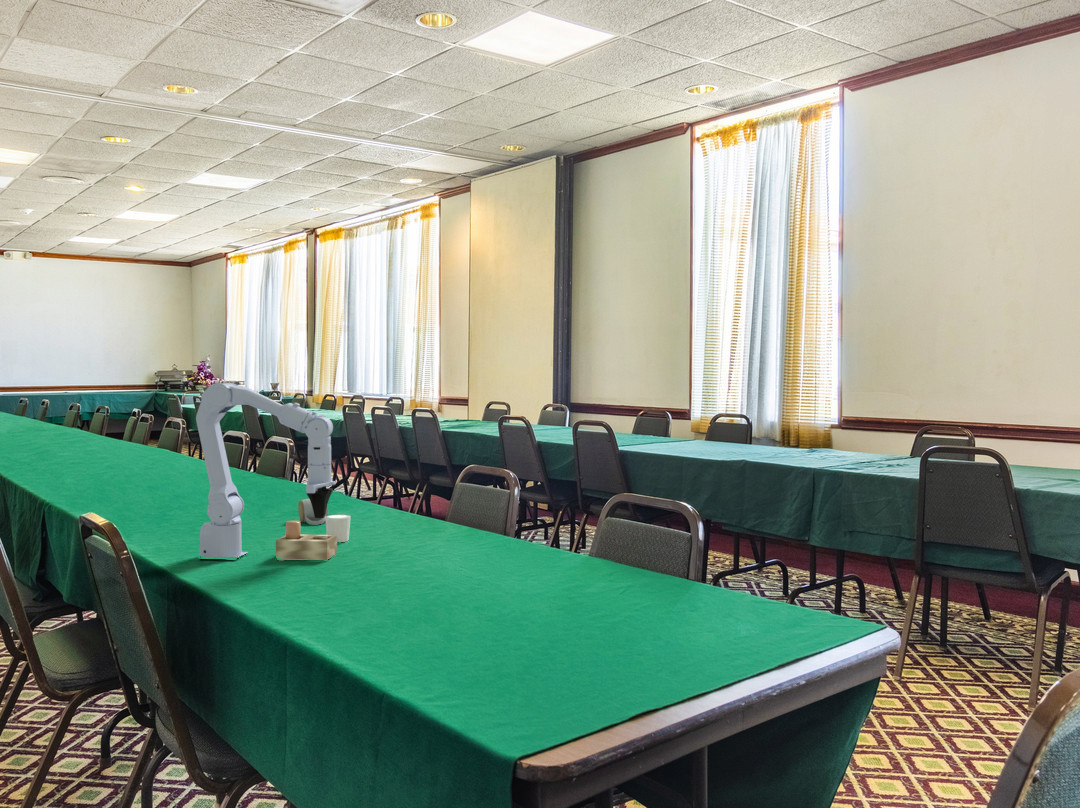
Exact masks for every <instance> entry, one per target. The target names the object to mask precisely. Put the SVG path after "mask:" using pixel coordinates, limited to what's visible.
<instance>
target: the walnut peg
mask: <svg viewBox="0 0 1080 808" xmlns="http://www.w3.org/2000/svg"><path fill="white" fill-rule="evenodd" d="M327 539H328V537H327V536H315V537H313V540H327Z"/></svg>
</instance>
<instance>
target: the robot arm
mask: <svg viewBox="0 0 1080 808" xmlns="http://www.w3.org/2000/svg"><path fill="white" fill-rule="evenodd" d="M245 405H248V406H249V407H252V408H255V409H258V410H260V411H262V412H265V413H268V414H270V415H273V416H275V417H277V419H278V422H279V424H281V425H283V426H285V427H287V428H290V429H293V430H295V431H296V432H299V433H301V434H305V435H306V437H307V438H308V439H307V441H308V442H307V443H308V444H307V481H306V485H305V489H306V490H305V493H306V496H307V497H308V499H310V501H311V504H312V508H313V512H314V516H315V518H324V517H325V514H326V509H327V504H329V500H330V497H331V496H332V493H333V491H334V488H331V487H330V488H329V486H335V485H336V484H337V481H335V480H333V477H332V444H331V443H332V441H331V440H332V438H331V437H332V436H331V434H332V433H333V430H334V424H333V422H332V420H331V419H330V418H328V417H327V416H326V415H317V414H318V412H316V411H314V410H313V411H310V410H307V409H306V408H303V407H301V404H300V403H299V402H293V403H292V402H288V403H285V404H281V403H280V402H277V401H275V400H273V399H271V398H269V397H267V396H266V395H263V394H261V393H259V392H258V391H255V390H252V388H249V387H246V386H243V385H238V384H236V383H233V382H223V383H220V382H217V383H216V382H215V383H212V384H210V385H208V387H207V388H206V389H205V390H204V391H203V393H202V394H201V400H200V404H199V406H198V410H197V412H196V416H195V421H196V426H197V431H198V434H199V440H200V444H201V449H202V454H203V457H204V458H203V459H204V464H205V467H206V472H207V476H208V482H209V486H210V488H209V492H208V495H207V499H208V505H207V510H206V511H207V512H206V513H207V516H208V518H209V519H210V521H209V522H207V521H206V522H205V523H203V524H202V526H200V527H201V528H200V532H199V557H200V556H204V557H218V558H230V557H237V556H238V557H239V556H241V555H244V554H246V553H248V551H243V550H242V547H243V546H242V544H243V543H242V518H241V514H243V512H244V509H245V501H244V499H243V498H242V497H241V496H240V494H239V492H238V487H237V486H236V485H235V483H234V482H233V480H232V474H231V471H230V465H229V461H228V456H227V451H226V447H225V443H224V439H223V438H224V437H223V433H222V429H221V424H220V422H221V420H222V419H223V418H224V417H225V415H226V414H227V413H228V412H229V411H230V410H232V409H233V408H234V407H236V406H245ZM248 554H249V553H248ZM246 555H247V554H246ZM244 556H245V555H244Z"/></svg>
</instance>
